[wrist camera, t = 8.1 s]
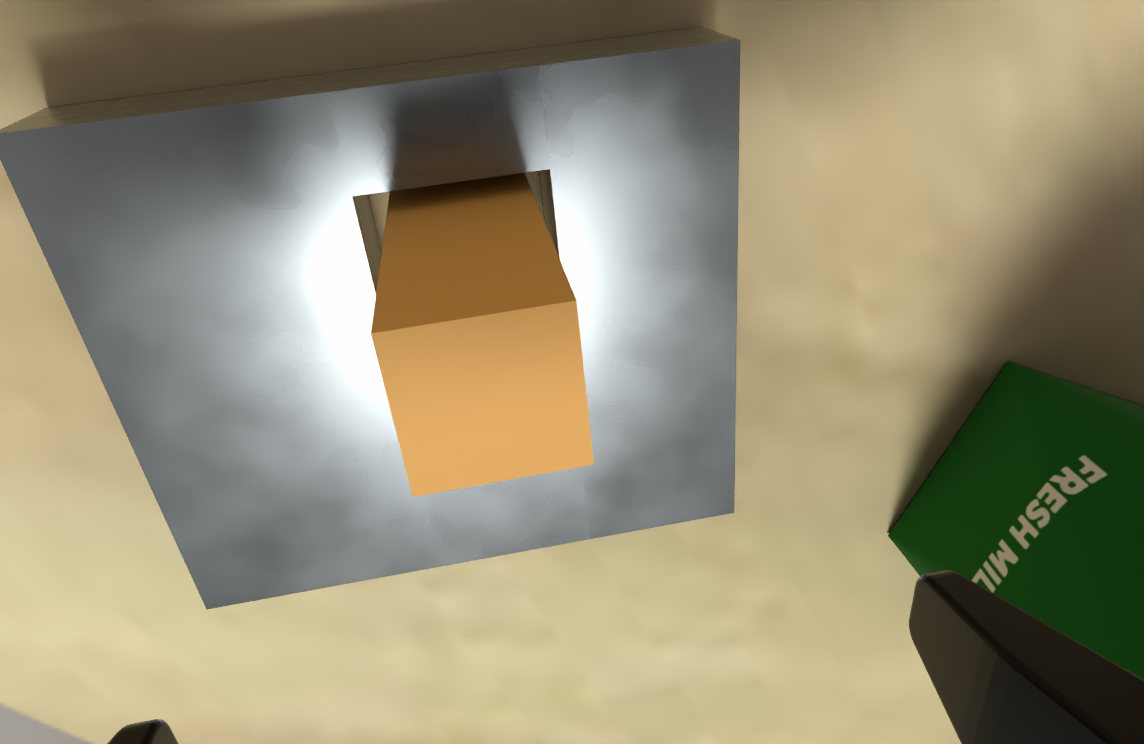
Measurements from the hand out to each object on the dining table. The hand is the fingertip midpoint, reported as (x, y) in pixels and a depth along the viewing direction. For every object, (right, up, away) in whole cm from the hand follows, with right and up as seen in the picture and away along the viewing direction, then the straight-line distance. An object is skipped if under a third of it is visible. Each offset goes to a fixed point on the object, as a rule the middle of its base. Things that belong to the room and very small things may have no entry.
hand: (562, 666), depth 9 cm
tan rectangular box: (-2, +7, +10) cm, 12 cm away
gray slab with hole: (-3, +5, +11) cm, 12 cm away
